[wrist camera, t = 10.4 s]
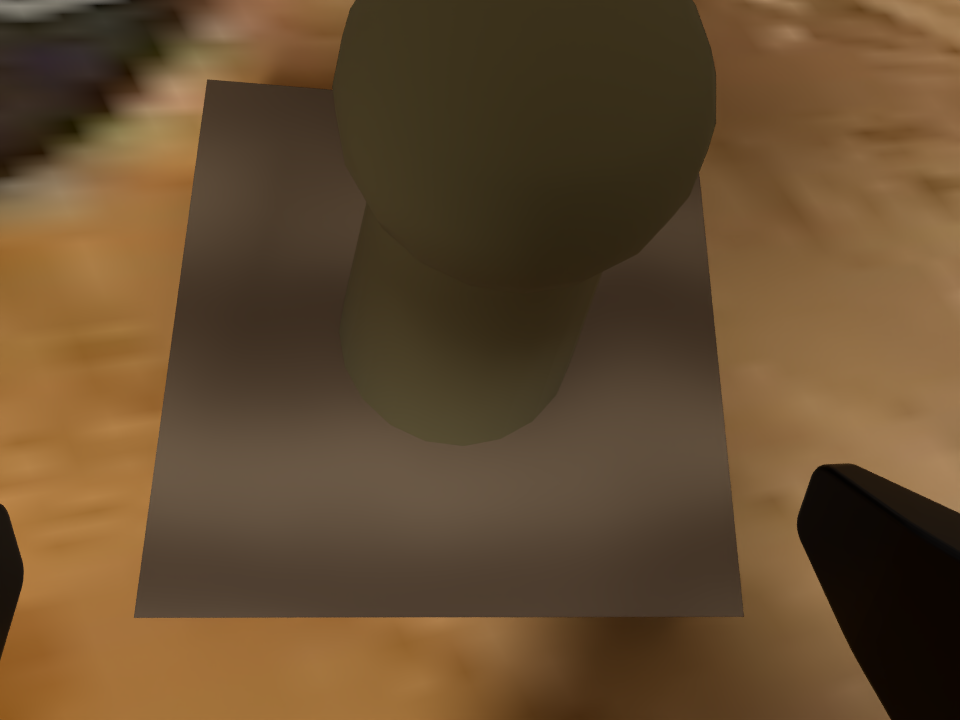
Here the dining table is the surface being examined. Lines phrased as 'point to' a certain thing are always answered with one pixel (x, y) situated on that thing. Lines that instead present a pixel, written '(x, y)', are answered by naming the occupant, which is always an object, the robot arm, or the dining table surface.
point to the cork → (504, 189)
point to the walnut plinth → (399, 455)
